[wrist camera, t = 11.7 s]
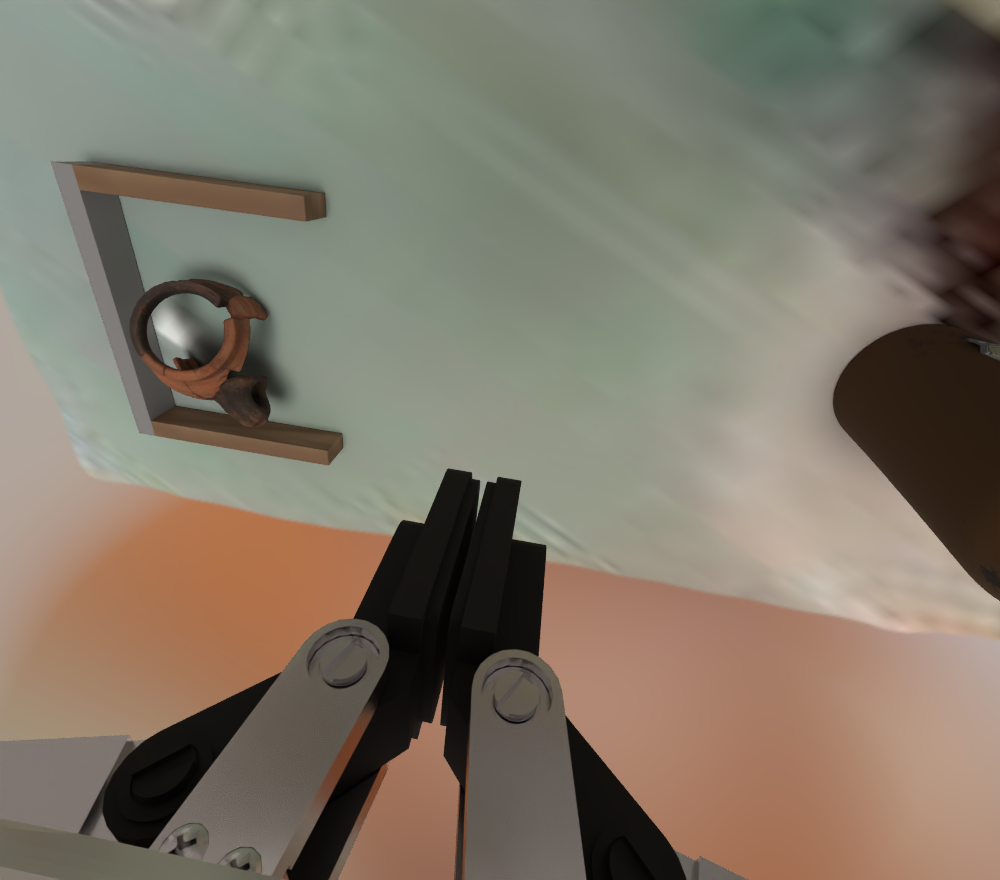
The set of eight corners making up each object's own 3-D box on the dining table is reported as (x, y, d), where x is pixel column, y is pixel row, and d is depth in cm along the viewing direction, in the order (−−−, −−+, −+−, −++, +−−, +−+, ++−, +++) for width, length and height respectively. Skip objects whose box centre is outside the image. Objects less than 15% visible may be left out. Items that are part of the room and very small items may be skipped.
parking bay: (90, 161, 34) (50, 161, 32) (324, 193, 33) (303, 195, 31) (164, 417, 45) (139, 433, 43) (343, 447, 44) (328, 465, 42)
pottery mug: (161, 341, 42) (85, 320, 34) (248, 275, 42) (194, 239, 34) (250, 449, 42) (197, 455, 34) (335, 384, 43) (303, 374, 35)
